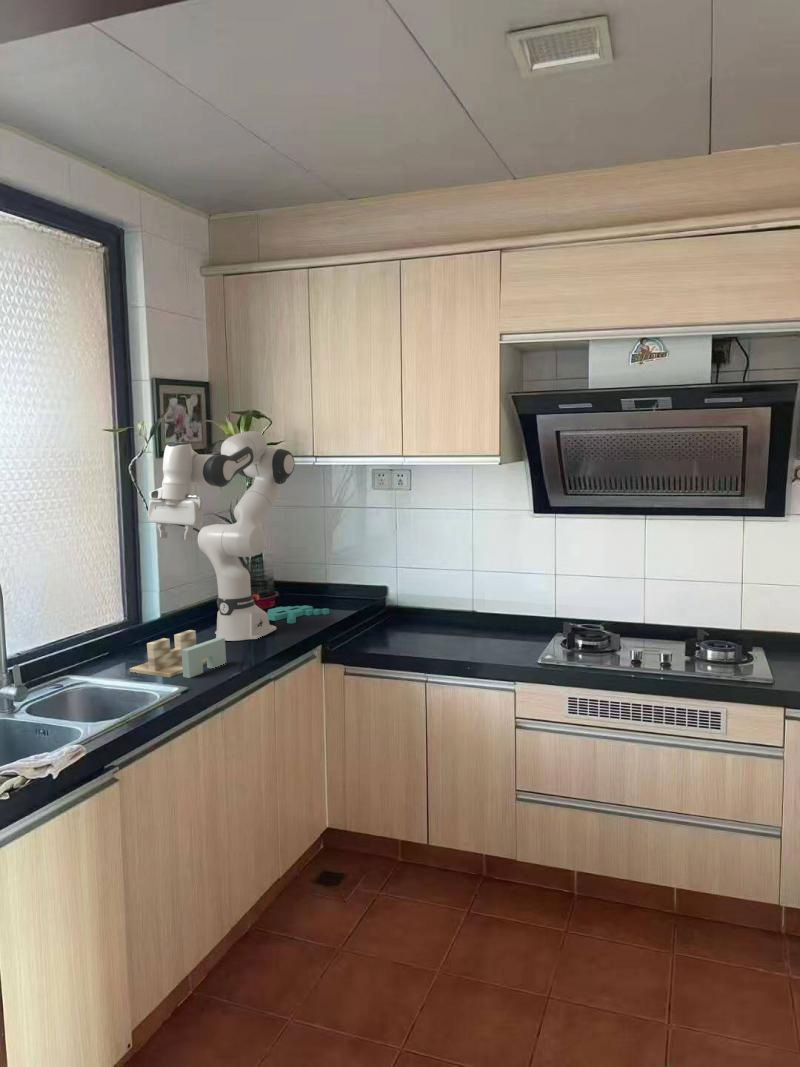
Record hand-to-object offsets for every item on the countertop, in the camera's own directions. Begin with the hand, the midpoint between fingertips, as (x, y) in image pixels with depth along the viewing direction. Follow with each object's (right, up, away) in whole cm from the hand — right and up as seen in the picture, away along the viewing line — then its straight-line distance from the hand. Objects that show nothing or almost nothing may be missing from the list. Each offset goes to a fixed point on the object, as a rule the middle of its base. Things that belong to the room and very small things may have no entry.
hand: (174, 539), depth 259 cm
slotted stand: (+1, -39, -4) cm, 39 cm away
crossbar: (+12, -39, -10) cm, 42 cm away
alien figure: (+28, -30, +63) cm, 75 cm away
